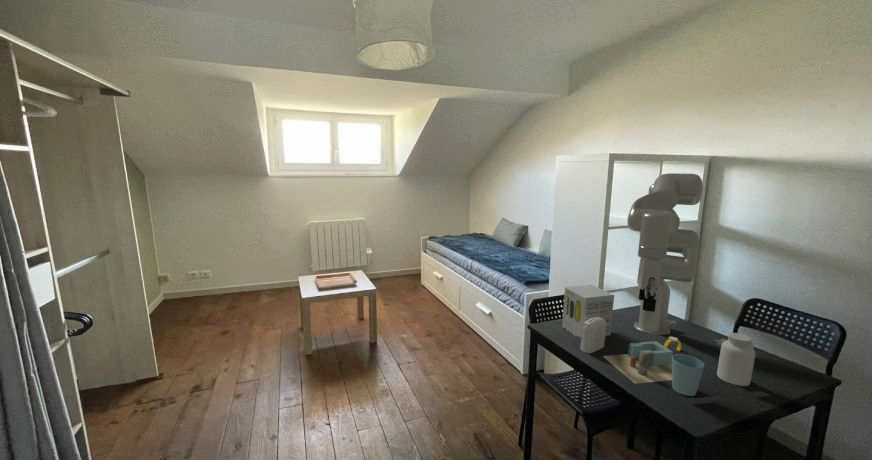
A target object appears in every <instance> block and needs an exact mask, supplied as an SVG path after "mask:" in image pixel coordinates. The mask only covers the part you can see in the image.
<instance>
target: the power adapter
mask: <svg viewBox="0 0 872 460" xmlns="http://www.w3.org/2000/svg"><path fill="white" fill-rule="evenodd" d="M711 341H713V343H712V344H714V345H719V346H721V345H722V343H723V342H725V341H728V339H726V338H721V339H715V338H712V339H711ZM751 347H752V348H753V349H754V348H755V345H754V342H753V341H752V340H751Z"/></svg>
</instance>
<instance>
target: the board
mask: <svg viewBox="0 0 872 460" xmlns="http://www.w3.org/2000/svg"><path fill="white" fill-rule="evenodd" d="M602 358H604V359H605V360H606V361H608V363H609V364H611V366H613V367H615V369H617V370H619V371H620V372H621V373H622V374H623V375H624V376H625V377H626V378H628V379H629V380H630V381H631V382H632V383H633V384H635V385H636V384H647V383H656V382H667V381H672V363H671V364H670V365H658V366H648V359H649V355H648V354H647V353H644V352H641V353H640V358H636V357H634V356H631V357H629V356H628V353H626V354H623V353H622V354H611V355H602Z"/></svg>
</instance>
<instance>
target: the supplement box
mask: <svg viewBox="0 0 872 460" xmlns="http://www.w3.org/2000/svg"><path fill="white" fill-rule="evenodd" d="M614 300H615V294H613V293H610V292H608V291H606V290H604V289H602V288H599V287H597V286H595V285H594V284H583V285H574V286H565V287H564V297H563V310H562V311H563V312H562V313H563V314H562V328H563V329H564V328H565V329H566V331H567V332H568V331H569V332H568V333H570V334H571V333H572V334H571V335H572V336H573V337H579V338H581V332H582V325H583V324H584V323H585V322H586V321H587V320H589V319H591V318H594V317H600V318H603V319H604V320H605V321H606V332H605V337H607V336H611V332H612V321H613V312H614ZM565 329H564V330H565Z"/></svg>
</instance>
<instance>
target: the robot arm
mask: <svg viewBox="0 0 872 460" xmlns="http://www.w3.org/2000/svg"><path fill="white" fill-rule="evenodd" d="M703 185H704V184H703V180H702V178H701V176H699V175H698V174H696V173H678V172H677V173H676V172H675V173H662V174H661V175H659V176H658V177H656V178H655V180H654V183H652V184H651V185H650V186H649V188H648V193H647V194H646V195H642V196H641V197H639V198H638V199H636V200H635V201H634V202H633V203H632V205H631V207H630V209H629V213H628V214H627V226H628V228H629V229H630V230H631V231H634V232H639V241H638V242H639V243H638V250H637V256H638V258H640V260H639V263H638V264H639V265H638V273H637V279H636V283H637V285H638V288H639V292H638V293H639V294H638V300H639V301H640V308H639V317H638V321H637V320H636V321H635V322H634V323H633V328H635V330H637V331H638V332H646V333H650V334H654V335H670V334H671V330H670V327H674V326H677V324H678V323H677V320H669V319H668V313H669V305H670V298H671V289H670V287H669V285H668V283H667V281H666V280H669V281H675V282H681V283H691V282H693V281H694V280H695V277H696V273H697V268H698V267H697V265H698V257H699V247H700V237H699V234H698V232H696V230H692V229H684V228H679V227H680V223H681V220H680V216H679V215H678V213H677V212H676V211H675V209H674V208H675V207H676V206H677V205H679V206H680V205H681V206H695V205H698V204H699V203H700V202H701V200H702V197H703V189H704V187H703ZM667 253H673V254H674V253H675V254H681V256H679V255H670V254H667Z"/></svg>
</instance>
